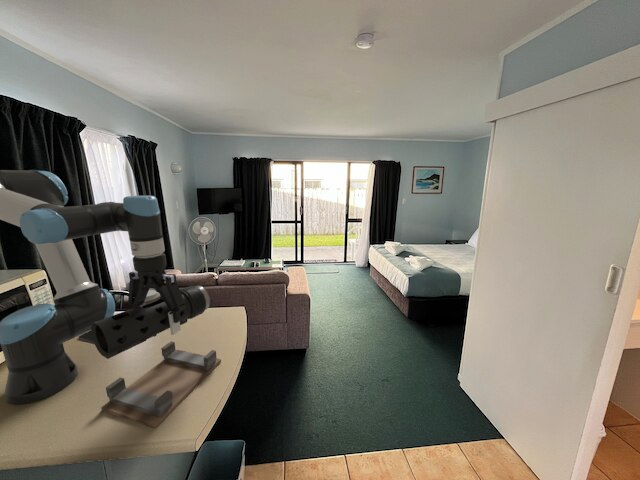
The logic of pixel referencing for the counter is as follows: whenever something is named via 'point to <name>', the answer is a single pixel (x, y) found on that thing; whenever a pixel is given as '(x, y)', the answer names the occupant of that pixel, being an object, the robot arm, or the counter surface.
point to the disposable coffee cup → (152, 296)
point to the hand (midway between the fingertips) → (160, 329)
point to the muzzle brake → (144, 322)
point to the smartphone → (87, 337)
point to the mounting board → (160, 386)
